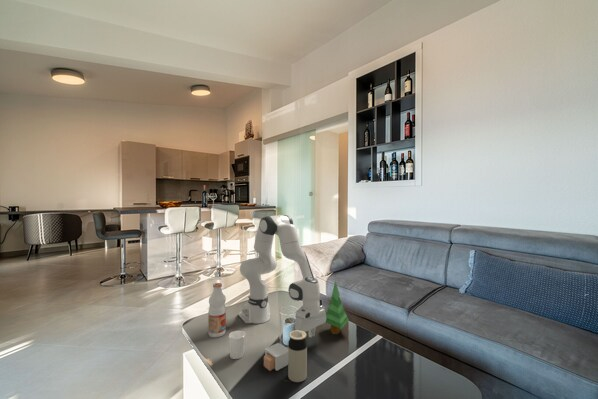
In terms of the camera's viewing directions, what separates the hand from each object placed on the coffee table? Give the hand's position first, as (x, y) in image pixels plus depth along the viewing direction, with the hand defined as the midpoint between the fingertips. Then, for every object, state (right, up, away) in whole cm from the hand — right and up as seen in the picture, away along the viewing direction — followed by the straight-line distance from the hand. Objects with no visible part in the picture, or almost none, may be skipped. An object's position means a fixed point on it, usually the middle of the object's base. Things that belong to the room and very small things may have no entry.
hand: (311, 336), depth 135 cm
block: (-19, -5, -17) cm, 26 cm away
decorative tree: (+14, -5, +14) cm, 21 cm away
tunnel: (-16, -5, -15) cm, 23 cm away
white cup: (-37, -5, -9) cm, 38 cm away
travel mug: (-7, -5, -24) cm, 26 cm away
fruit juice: (-53, -5, +11) cm, 54 cm away
